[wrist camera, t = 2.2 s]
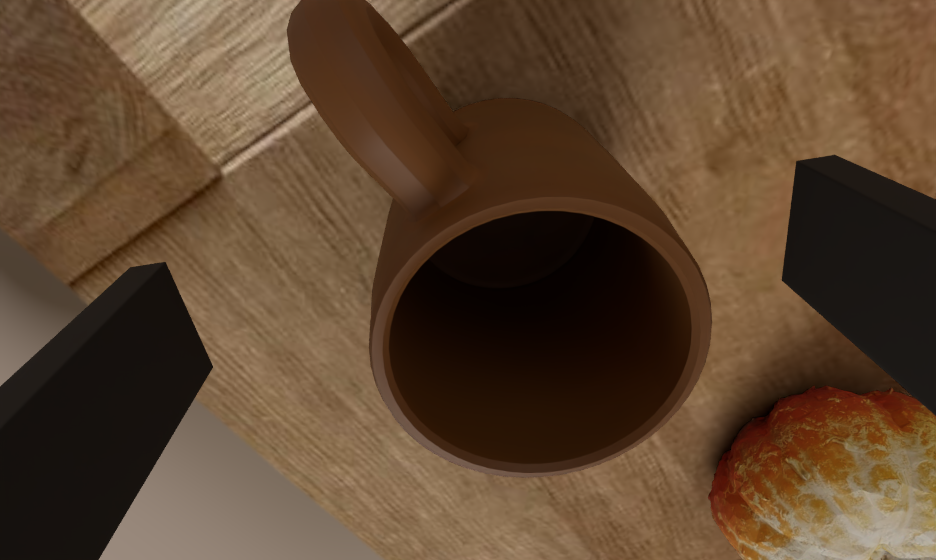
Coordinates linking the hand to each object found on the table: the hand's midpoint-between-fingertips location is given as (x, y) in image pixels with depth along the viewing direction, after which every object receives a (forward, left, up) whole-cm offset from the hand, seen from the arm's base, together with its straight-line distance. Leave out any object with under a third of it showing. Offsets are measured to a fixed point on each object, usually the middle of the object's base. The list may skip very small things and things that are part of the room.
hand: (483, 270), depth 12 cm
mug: (0, 0, -9) cm, 9 cm away
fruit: (+17, +14, -9) cm, 23 cm away
